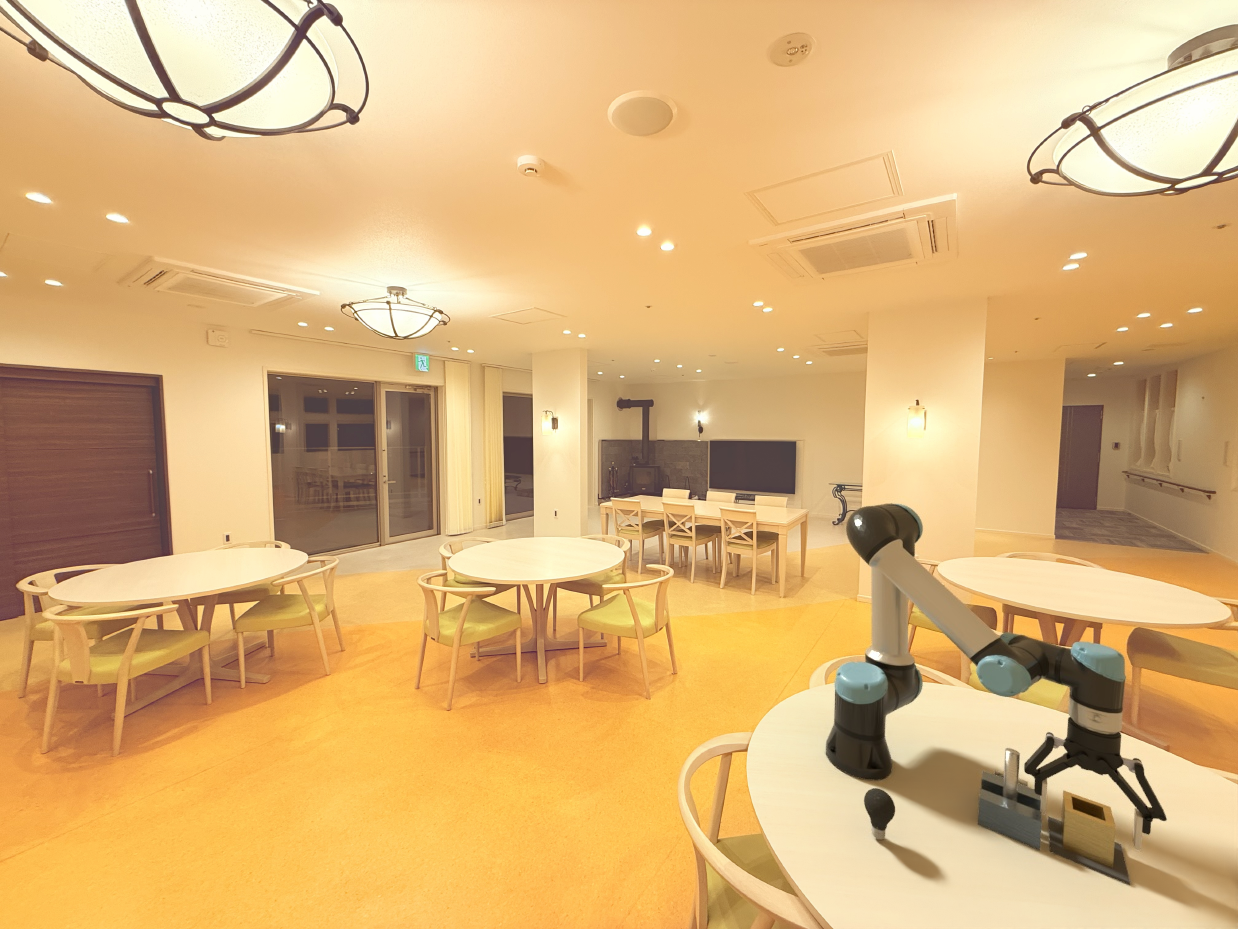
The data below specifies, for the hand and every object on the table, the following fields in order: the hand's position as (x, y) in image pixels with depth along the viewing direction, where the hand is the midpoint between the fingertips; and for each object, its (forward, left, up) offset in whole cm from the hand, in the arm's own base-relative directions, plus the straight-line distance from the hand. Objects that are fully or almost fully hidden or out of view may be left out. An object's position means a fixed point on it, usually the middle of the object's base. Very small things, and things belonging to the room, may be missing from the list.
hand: (1087, 827), depth 96 cm
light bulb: (-32, -25, -5) cm, 41 cm away
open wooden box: (0, 0, -4) cm, 4 cm away
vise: (-12, +2, -5) cm, 13 cm away
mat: (0, 0, -5) cm, 5 cm away
